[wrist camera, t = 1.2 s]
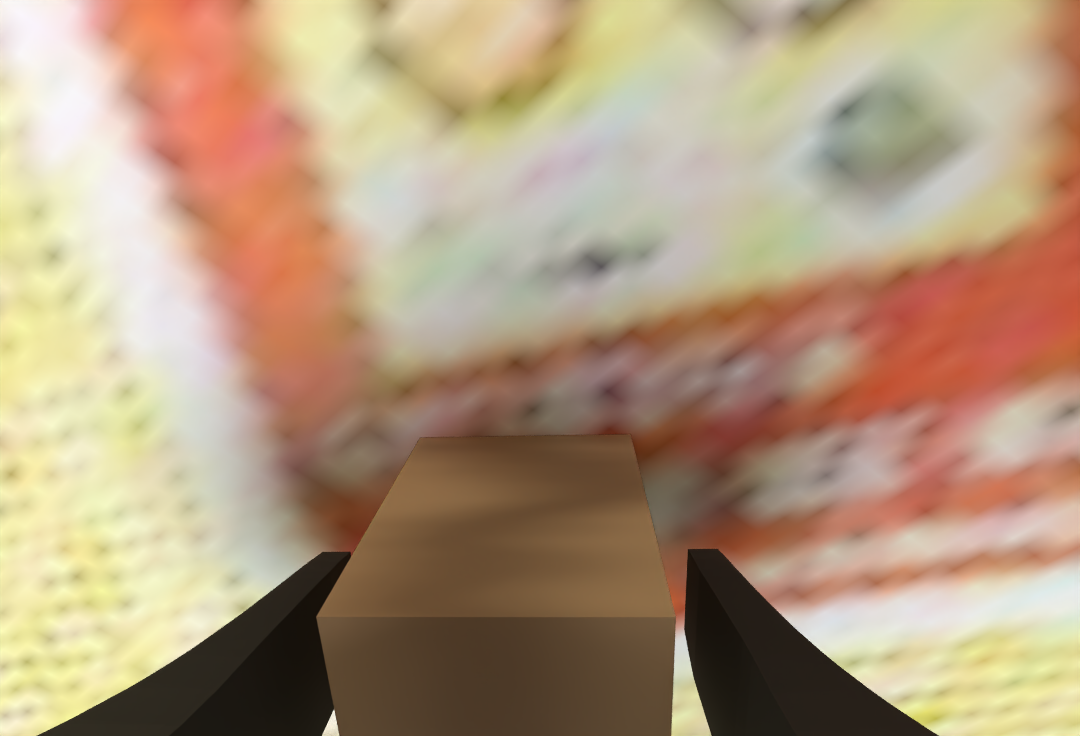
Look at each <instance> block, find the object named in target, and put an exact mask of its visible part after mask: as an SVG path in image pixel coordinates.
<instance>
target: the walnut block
mask: <svg viewBox="0 0 1080 736" xmlns="http://www.w3.org/2000/svg"><path fill="white" fill-rule="evenodd" d="M316 618H317V623H318V628H319V633H320V638H321V643H322V648H323V654H324V659H325V664H326V669H327V674H328V679H329V684H330V689H331V695H332V700H333V705H334V710H335V715H336V720H337V725H338V731H339V736H671V724H672V699H673V674H674V649H675V624H676V616H675V612H674V608H673V604H672V600H671V596H670V592H669V588H668V584H667V580H666V576H665V572H664V567H663V563H662V559H661V555H660V551H659V547H658V543H657V539H656V535H655V531H654V527H653V523H652V519H651V515H650V511H649V507H648V503H647V499H646V494H645V490H644V486H643V482H642V478H641V474H640V470H639V466H638V462H637V458H636V454H635V450H634V446H633V442H632V438H631V434H605V435H545V436H485V437H425V438H420V439H419V440H418V442H417V444H416V446H415V447H414V449H413V451H412V453H411V454H410V456H409V458H408V459H407V461H406V463H405V465H404V466H403V468H402V470H401V472H400V473H399V475H398V477H397V478H396V480H395V482H394V484H393V485H392V487H391V489H390V491H389V492H388V494H387V496H386V497H385V499H384V501H383V503H382V504H381V506H380V508H379V510H378V511H377V513H376V515H375V516H374V518H373V520H372V522H371V523H370V525H369V527H368V528H367V530H366V532H365V534H364V535H363V537H362V539H361V541H360V542H359V544H358V546H357V547H356V549H355V551H354V553H353V554H352V556H351V558H350V560H349V561H348V563H347V565H346V566H345V568H344V570H343V572H342V573H341V575H340V577H339V579H338V580H337V582H336V584H335V585H334V587H333V589H332V591H331V592H330V594H329V596H328V598H327V599H326V601H325V603H324V604H323V606H322V608H321V610H320V611H319V613H318V615H317V616H316Z"/></svg>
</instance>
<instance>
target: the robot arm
mask: <svg viewBox="0 0 1080 736" xmlns="http://www.w3.org/2000/svg"><path fill="white" fill-rule="evenodd" d="M350 558H351V553H350V552H322V553H321V554H319V555H318V556H316V557H315V558H314V559H312V560H311V561H310V562H308V563H307V564H306V565H304V566H303V567H302V568H300V569H299V570H298V571H296V572H295V573H294V574H293V575H291V576H290V577H289V578H287V579H286V580H285V581H284V582H282V583H281V584H280V585H279V586H277V587H276V588H275V589H273V590H272V591H271V592H269V593H268V594H267V595H266V596H264V597H263V598H262V599H260V600H259V601H258V602H256V603H255V604H254V605H252V606H251V607H250V608H249V609H247V610H246V611H245V612H243V613H242V614H241V615H239V616H238V617H236V618H235V619H234V620H232V621H231V622H229V623H228V624H227V625H225V626H224V627H222V628H221V629H219V630H218V631H217V632H215V633H214V634H212V635H211V636H210V637H208V638H207V639H205V640H204V641H203V642H201V643H200V644H198V645H197V646H195V647H194V648H192V649H191V650H189V651H188V652H186V653H185V654H183V655H182V656H180V657H179V658H177V659H176V660H174V661H173V662H171V663H169V664H168V665H166V666H164V667H163V668H161V669H160V670H158V671H156V672H155V673H153V674H151V675H150V676H148V677H146V678H145V679H143V680H141V681H140V682H138V683H136V684H135V685H133V686H131V687H129V688H128V689H126V690H124V691H122V692H120V693H118V694H117V695H115V696H113V697H111V698H109V699H107V700H105V701H104V702H102V703H100V704H98V705H96V706H94V707H92V708H91V709H89V710H87V711H85V712H83V713H81V714H79V715H78V716H76V717H74V718H72V719H70V720H68V721H66V722H64V723H62V724H60V725H58V726H56V727H54V728H52V729H50V730H48V731H46V732H44V733H41V734H39V735H37V736H322V734H323V732H324V730H325V727H326V725H327V723H328V721H329V719H330V716H331V714H332V712H333V710H334V705H333V700H332V695H331V689H330V684H329V679H328V674H327V669H326V664H325V659H324V654H323V648H322V643H321V638H320V633H319V628H318V623H317V618H316V616H317V615H318V613H319V611H320V610H321V608H322V606H323V604H324V603H325V601H326V599H327V598H328V596H329V594H330V592H331V591H332V589H333V587H334V585H335V584H336V582H337V580H338V579H339V577H340V575H341V573H342V572H343V570H344V568H345V566H346V565H347V563H348V561H349V560H350ZM684 630H685V635H686V641H687V646H688V651H689V657H690V662H691V667H692V671H693V676H694V680H695V683H696V687H697V690H698V693H699V696H700V700H701V703H702V706H703V709H704V713H705V716H706V719H707V722H708V725H709V728H710V732H711V735H712V736H938V735H937V734H935V733H933V732H932V731H930V730H929V729H927V728H926V727H924V726H923V725H921V724H920V723H918V722H917V721H915V720H914V719H912V718H910V717H909V716H907V715H906V714H904V713H903V712H901V711H900V710H898V709H897V708H895V707H894V706H892V705H891V704H889V703H888V702H887V701H885V700H884V699H882V698H881V697H880V696H878V695H877V694H875V693H874V692H872V691H871V690H870V689H868V688H867V687H866V686H864V685H863V684H862V683H861V682H859V681H858V680H857V679H855V678H854V677H853V676H851V675H850V674H849V673H847V672H846V671H845V670H844V669H842V668H841V667H840V666H838V665H837V664H836V663H835V662H833V661H832V660H831V659H830V658H828V657H827V656H826V655H825V654H824V653H822V652H821V651H820V650H819V649H818V648H817V647H816V646H814V645H813V644H812V643H811V642H810V641H809V640H808V639H806V638H805V637H804V636H803V635H802V634H801V633H800V632H799V631H797V630H796V629H795V628H794V627H793V626H792V625H791V624H790V623H789V622H788V621H787V620H786V619H785V618H784V617H783V616H782V615H781V614H780V613H779V612H778V611H777V610H776V609H775V608H774V607H773V606H772V605H771V604H770V603H768V602H767V601H766V599H765V598H764V597H763V596H762V595H761V594H760V593H759V592H758V591H757V590H756V589H755V588H754V587H753V586H752V585H751V584H750V583H749V582H748V581H747V580H746V579H745V578H744V576H743V575H742V574H741V573H740V572H739V571H738V570H737V569H736V568H735V567H734V566H733V565H732V564H731V562H730V561H729V560H728V559H727V558H726V557H725V556H724V555H723V554H722V553H721V552H720V551H719V550H718V549H688V560H687V582H686V604H685V626H684Z"/></svg>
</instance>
